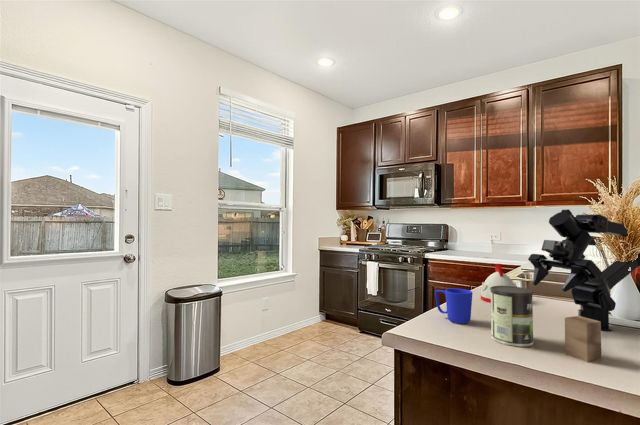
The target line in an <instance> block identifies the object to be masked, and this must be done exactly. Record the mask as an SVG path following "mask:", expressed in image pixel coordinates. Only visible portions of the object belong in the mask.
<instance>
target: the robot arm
mask: <svg viewBox="0 0 640 425" xmlns="http://www.w3.org/2000/svg"><path fill="white" fill-rule="evenodd" d="M548 224H549V225H550V226H551V227H552V228H553V229H554V230H555V231H556V233H558V235H559V237H563V238H565V239H562V240H561V241H560V240H551V239H544V240H543V243H542V247H541V251H542V252H546V253H548V256H549V257H550V258H552V259H548V257H546V255H545V254H540V253H531V254H530V255H529V257H527V259H528V261H529V262H530V263H531V265H532V266H533V269H534V270H533V272H534V273H533V278H532V284H533V285H534V286H537V285H539V284H540V282H541V281H542V280H544V279H545V278H546V277H547V276H548V275H549V274H550V271H551V270H552V268H559V269H562V270H563V269H564V270H570V274H568V275H569V276H568V277H567V278H566V281H565V282H564V284H563V286H562V287H561V290H562V292H564V293H566V292H568V291H570V290H571V294H572V299H573V302H574V305H579V306H580V309H578V310H577V311H578V312H577V313H578V314H577V316H581V317H585V318H589V319H593V320H597V321H600V322H601V331H606V332H607V331H609V332H611V331H612V328H610V323H609V322H610V321H609V320H610V319H609V318H610V316H609V315H610V314H609V312H613V311H615V308H616V306H617V305H616V302H615V300H614V299H613V297H612V296H611V289H612V288H614V287H615V286H616V285H617V284H619V283H620V282H621V281H622V280H624V279H625V278H626V277H627V276H628V275H630V274H631V273H632V272H634V271H635V270H636V269H637V268H640V267H639V266H640V253H639V254H638V258H637V259H636V260H634V261H633V262H632V260H631V261H628V262H620V261H616V260H614V262H612V263H611V264H609V266H606V268H605V269H604V270H601V269H600V268H599V267H598V266H597V264H596V263H595V262H594V261H593V260H592V259H585V258H586V255H585V254H584V253H585V251H586V250H587V248H588V247H589V246H596V245H597V242H596V240H595V239H594V236H592V235H591V233H592V234H605V235H610V236H611V235H612V236H615V235H621V236H628V234H627V230H626V228H625V227H624V225H623V224H624V223H622V222H621V223H620V222H615V221H611V220H609V218H608V217H606V216H604V215H602V214H598V213H597V214H596V213H595V214H593V213H592V214H576V215H575V216H574V215H573V213H572V211H571V210H570V209H561V211H560V212H557V213H555V214H553V215H552V216H550V218H549V219H548ZM629 267H631V271H628V269H629Z"/></svg>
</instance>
